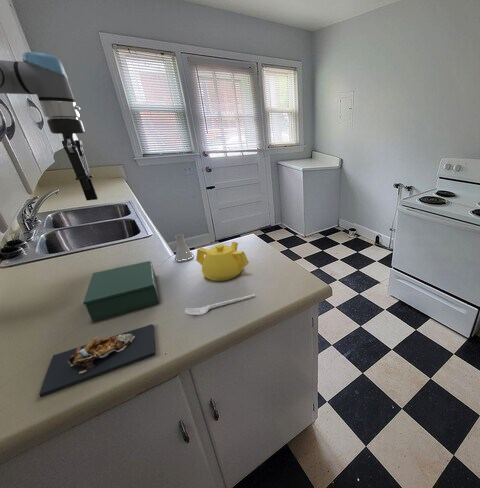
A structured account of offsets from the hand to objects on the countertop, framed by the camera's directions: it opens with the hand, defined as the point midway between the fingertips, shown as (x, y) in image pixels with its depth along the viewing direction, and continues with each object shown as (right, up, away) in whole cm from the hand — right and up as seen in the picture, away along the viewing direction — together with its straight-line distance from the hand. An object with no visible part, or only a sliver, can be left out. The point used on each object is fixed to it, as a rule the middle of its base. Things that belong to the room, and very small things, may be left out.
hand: (92, 199), depth 87 cm
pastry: (+23, -40, -23) cm, 51 cm away
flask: (+17, -20, +25) cm, 36 cm away
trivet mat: (+23, -41, -23) cm, 52 cm away
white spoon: (+44, -33, -5) cm, 55 cm away
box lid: (+12, -26, -3) cm, 29 cm away
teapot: (+38, -24, +15) cm, 48 cm away
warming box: (+12, -31, 0) cm, 33 cm away
